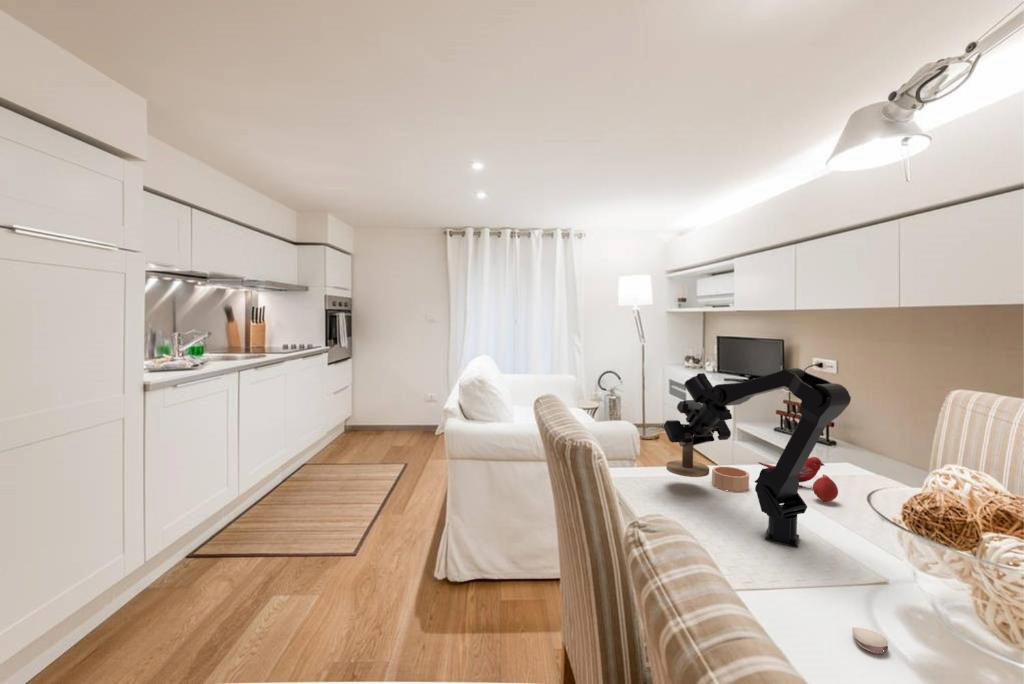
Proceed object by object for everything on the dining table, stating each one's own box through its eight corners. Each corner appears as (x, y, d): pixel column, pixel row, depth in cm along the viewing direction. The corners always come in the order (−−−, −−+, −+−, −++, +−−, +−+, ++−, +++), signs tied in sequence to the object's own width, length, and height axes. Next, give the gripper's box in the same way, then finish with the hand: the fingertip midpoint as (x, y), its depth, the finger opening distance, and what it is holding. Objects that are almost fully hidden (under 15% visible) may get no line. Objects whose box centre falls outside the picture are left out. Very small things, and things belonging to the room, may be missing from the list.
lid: (704, 479, 127) (705, 440, 127) (661, 472, 134) (662, 434, 133) (712, 468, 137) (713, 432, 137) (672, 462, 144) (672, 427, 143)
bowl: (745, 494, 132) (746, 479, 132) (709, 487, 138) (709, 472, 138) (750, 484, 140) (751, 470, 140) (715, 478, 146) (716, 464, 146)
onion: (829, 498, 129) (830, 471, 129) (842, 507, 124) (843, 478, 123) (808, 498, 130) (809, 470, 130) (819, 506, 124) (820, 477, 124)
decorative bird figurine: (824, 492, 134) (826, 459, 134) (757, 483, 142) (758, 451, 141) (823, 489, 137) (824, 456, 136) (756, 480, 144) (757, 449, 144)
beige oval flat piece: (871, 659, 68) (871, 643, 68) (841, 636, 73) (841, 621, 73) (894, 655, 69) (895, 639, 68) (863, 633, 74) (864, 618, 73)
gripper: (725, 391, 132) (701, 421, 144) (667, 393, 129) (647, 423, 140) (743, 423, 125) (717, 452, 136) (682, 426, 121) (660, 455, 133)
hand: (685, 444), depth 137 cm, fingers closed on lid, 3 cm apart
